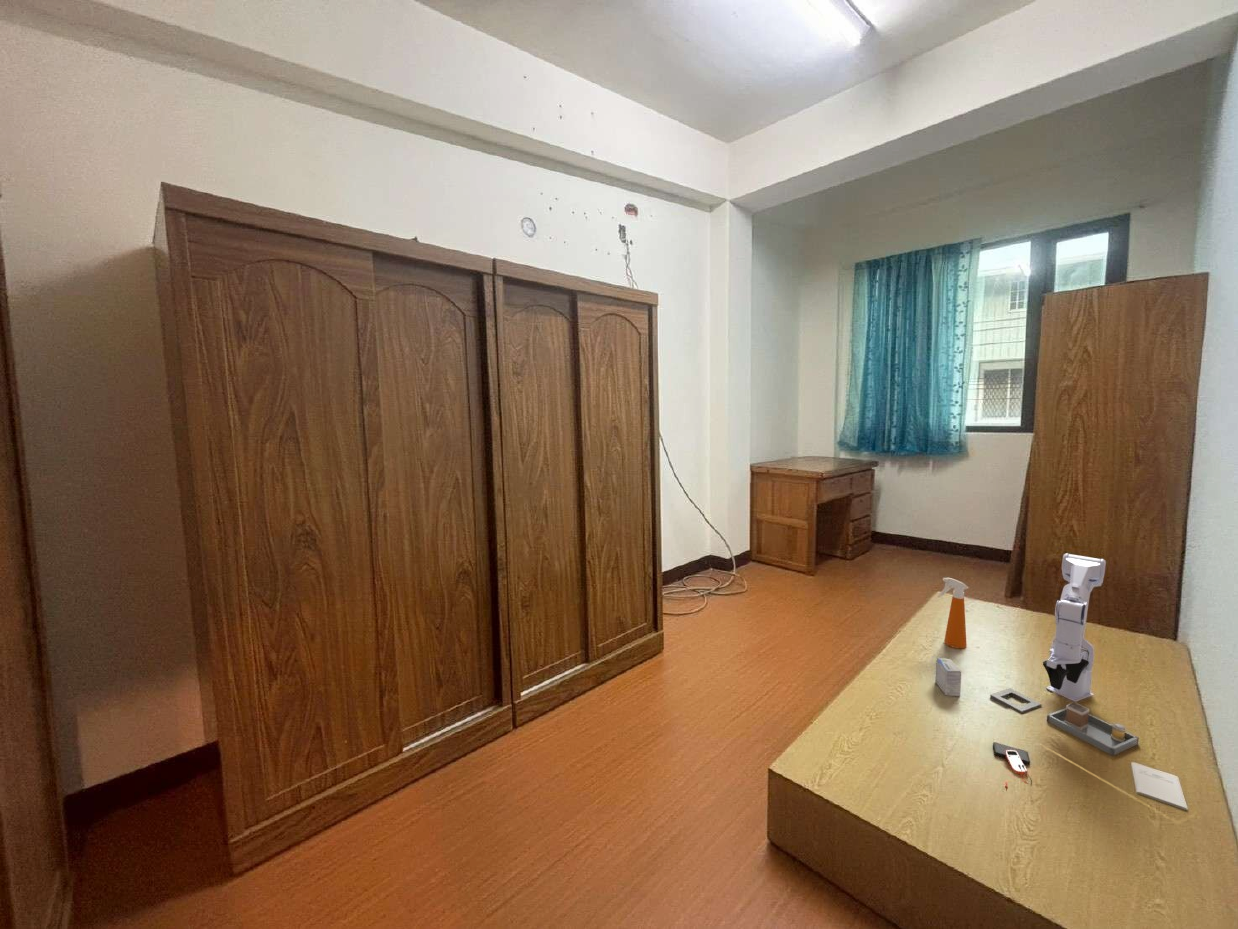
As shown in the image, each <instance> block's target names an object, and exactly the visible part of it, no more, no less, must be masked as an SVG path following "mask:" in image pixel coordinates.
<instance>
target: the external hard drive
mask: <svg viewBox="0 0 1238 929" xmlns="http://www.w3.org/2000/svg"><path fill="white" fill-rule="evenodd" d="M1130 764H1131V765H1130V766H1131V771H1132V776H1133V781H1134V787H1135V792H1136V794H1138V795H1141V796H1143V797H1144V796H1145V797H1146V798H1149V799H1152V800H1155V801H1159V802H1161V803H1164V804H1166V805H1170V806H1171V807H1176V808H1178V809H1181V810H1184V811H1187V812H1188V811H1189V809H1188V805H1187V802H1186V799H1185V796H1184V793H1183V788H1182V785H1181V782H1180V779H1179V776H1177V775H1174V774H1171V773H1170V772H1169V773H1168V772H1165V771H1162V770H1159V769H1155V768H1153V767H1151V766H1146V765H1144V764H1140V763H1137V762H1135V761H1132V762H1131V763H1130Z"/></svg>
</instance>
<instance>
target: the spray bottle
mask: <svg viewBox="0 0 1238 929" xmlns="http://www.w3.org/2000/svg"><path fill="white" fill-rule="evenodd" d="M942 581H943V582H945V583H944V587H943V589H942V591H940V592H939V594H938V595H937V596H936V597H937V598H940V597H942V596H944V595H945V594H946V593H948V591H950V590H952V589H953V591H952V597H951V601H950V602H951V603H950V609H949V613H948V618H947V619H948V620H947V624H946V630H945V634H944V640H943V641H944V644H946V645H947V646H949V647H950V648H951V647H952V648H953V649H954V648H955V649H965V648H967V646H968V645H967V630H966V628H967V627H966V626H967V625H966V608H965V592H964V590H967V589H970V587H969V586H968V585H967V584H965V583H964V582H962V581H959V580H957V579H954V578H951V577H948V576H947V577H942Z"/></svg>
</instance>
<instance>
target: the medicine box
mask: <svg viewBox="0 0 1238 929" xmlns="http://www.w3.org/2000/svg"><path fill="white" fill-rule="evenodd" d="M934 678H935V680H934V681H935V683H936V684H937V686H938V687H939V688H940V689H941V692H942V693H943V694H944V695H945V696H950V697H951V696H952V697H960V696H961V689H962V688H961V685H962V671H961V670H960V669H959V667H958V666H957V664H955V663H954V661H953V660H952V659H951V658H940V657H938V658H936V662H935V677H934Z"/></svg>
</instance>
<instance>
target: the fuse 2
mask: <svg viewBox="0 0 1238 929" xmlns="http://www.w3.org/2000/svg"><path fill="white" fill-rule="evenodd" d="M1111 725H1112V734H1111V739H1113V740H1114V741H1116V742H1119V743H1122V742H1124V740H1125V739H1124V736H1125V731H1126V730H1127V728H1126V726H1124V725H1123V724H1121V723H1117V722H1113V723H1112V724H1111ZM1126 732H1127V731H1126Z"/></svg>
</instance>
